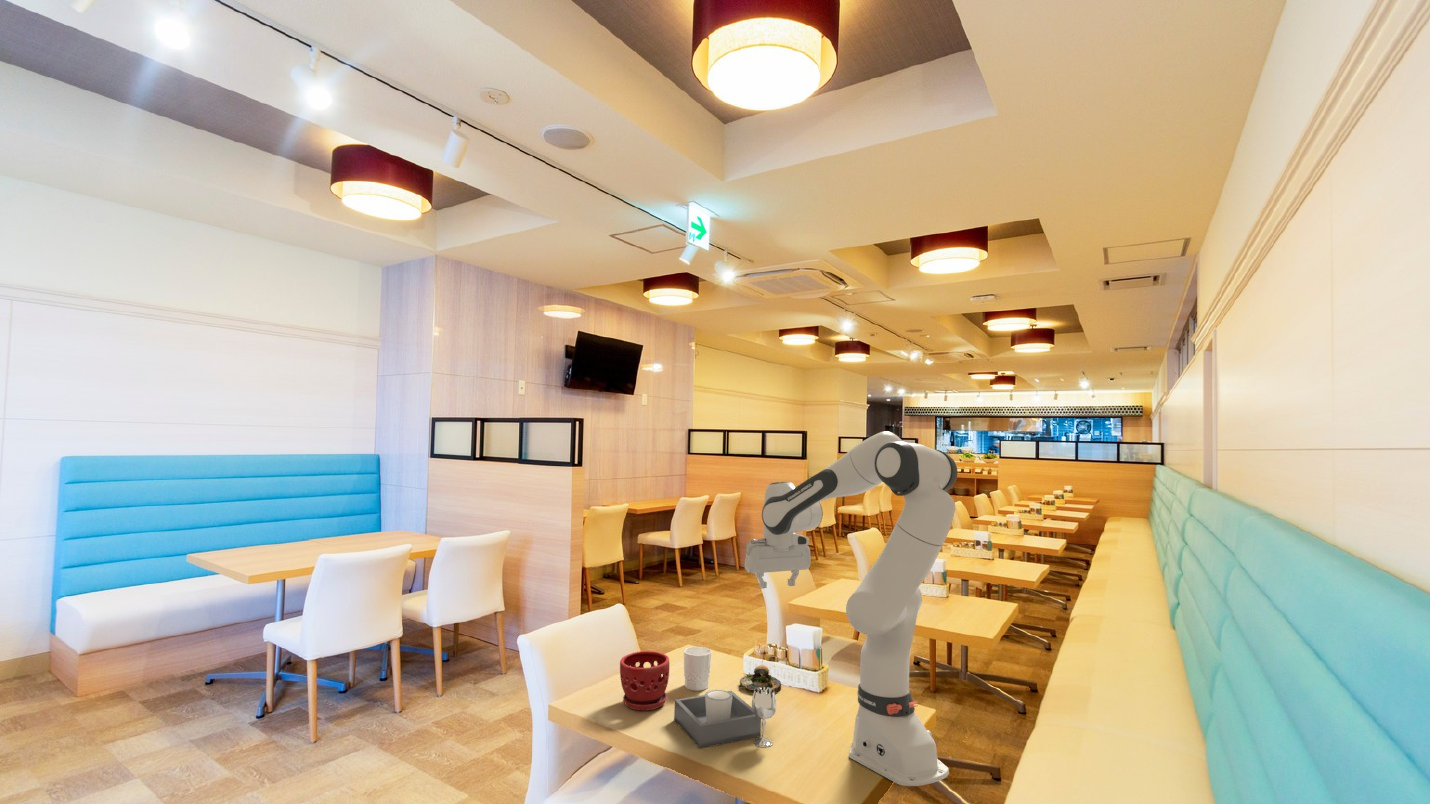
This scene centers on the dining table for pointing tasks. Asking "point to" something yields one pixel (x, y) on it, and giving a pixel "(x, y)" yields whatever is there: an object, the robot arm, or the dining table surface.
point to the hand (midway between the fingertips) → (777, 586)
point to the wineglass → (763, 710)
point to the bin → (716, 722)
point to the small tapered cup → (718, 705)
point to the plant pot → (644, 680)
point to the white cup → (697, 668)
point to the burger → (760, 679)
